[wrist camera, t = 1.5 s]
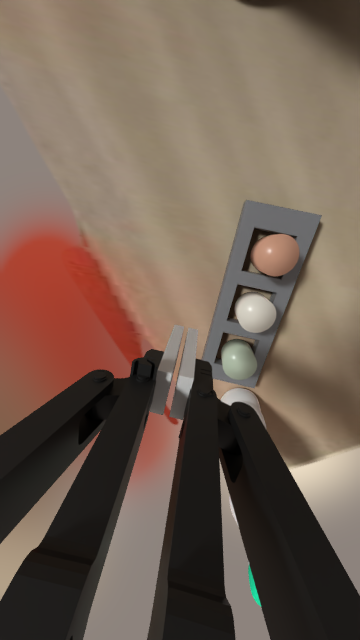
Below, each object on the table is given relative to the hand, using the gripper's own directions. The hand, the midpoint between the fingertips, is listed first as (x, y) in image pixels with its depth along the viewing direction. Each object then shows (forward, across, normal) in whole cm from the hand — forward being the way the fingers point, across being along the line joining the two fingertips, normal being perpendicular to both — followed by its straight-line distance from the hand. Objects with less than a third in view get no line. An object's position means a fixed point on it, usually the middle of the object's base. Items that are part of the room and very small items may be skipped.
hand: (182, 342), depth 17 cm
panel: (+19, +9, 0) cm, 21 cm away
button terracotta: (+17, +9, +8) cm, 21 cm away
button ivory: (+17, +9, 0) cm, 19 cm away
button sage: (+17, +9, -8) cm, 21 cm away
